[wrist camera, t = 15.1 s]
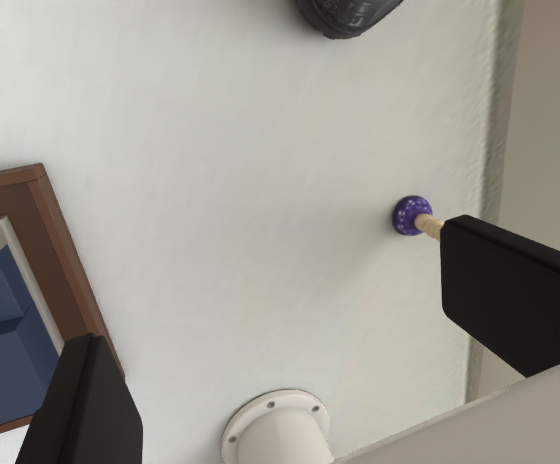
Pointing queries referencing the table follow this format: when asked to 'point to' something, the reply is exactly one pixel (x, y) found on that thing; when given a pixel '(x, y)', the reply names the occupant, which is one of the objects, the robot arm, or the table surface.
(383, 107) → the table surface
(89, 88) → the table surface
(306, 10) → the loafer
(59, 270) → the tray
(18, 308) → the blue stair step block
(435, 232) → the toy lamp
